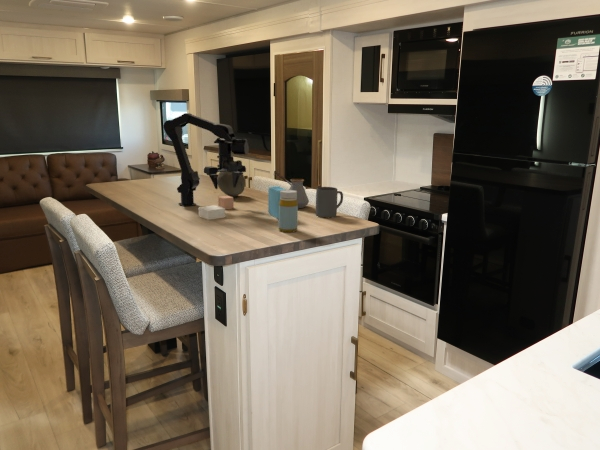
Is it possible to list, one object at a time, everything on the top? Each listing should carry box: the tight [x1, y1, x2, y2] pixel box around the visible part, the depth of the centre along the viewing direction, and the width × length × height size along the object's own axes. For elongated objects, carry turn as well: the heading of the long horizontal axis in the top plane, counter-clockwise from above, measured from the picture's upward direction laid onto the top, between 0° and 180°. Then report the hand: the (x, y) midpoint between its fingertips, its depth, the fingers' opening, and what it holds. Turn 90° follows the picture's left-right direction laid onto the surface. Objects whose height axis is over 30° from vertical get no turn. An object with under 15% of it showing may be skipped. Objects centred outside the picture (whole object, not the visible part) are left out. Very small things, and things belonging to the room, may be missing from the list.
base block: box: [198, 204, 226, 221], centre depth 197 cm, size 8×8×4 cm
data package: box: [267, 186, 287, 220], centre depth 200 cm, size 12×4×12 cm, turn 24°
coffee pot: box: [273, 171, 310, 209], centre depth 223 cm, size 21×12×15 cm, turn 45°
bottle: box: [278, 189, 299, 233], centre depth 176 cm, size 7×7×15 cm
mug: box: [315, 186, 344, 219], centre depth 204 cm, size 14×9×12 cm
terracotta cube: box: [217, 195, 235, 210], centre depth 216 cm, size 5×5×5 cm
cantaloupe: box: [217, 171, 246, 198], centre depth 241 cm, size 14×14×15 cm
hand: (225, 188), depth 214 cm, fingers open, 9 cm apart
